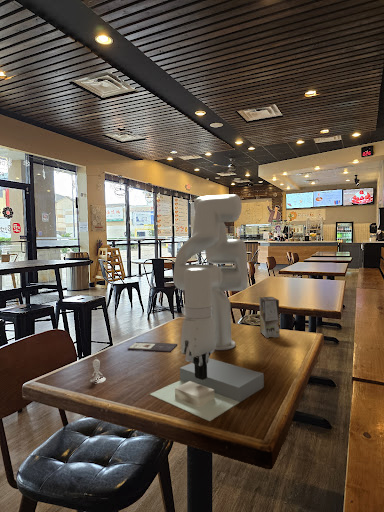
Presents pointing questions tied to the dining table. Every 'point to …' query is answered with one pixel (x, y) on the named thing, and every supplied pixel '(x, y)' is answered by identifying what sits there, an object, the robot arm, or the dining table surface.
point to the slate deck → (226, 379)
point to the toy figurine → (95, 364)
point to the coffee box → (269, 317)
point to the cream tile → (194, 393)
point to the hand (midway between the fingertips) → (201, 377)
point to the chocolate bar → (153, 346)
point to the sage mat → (205, 411)
